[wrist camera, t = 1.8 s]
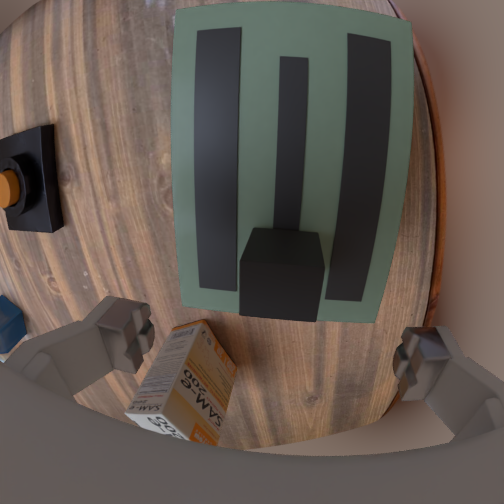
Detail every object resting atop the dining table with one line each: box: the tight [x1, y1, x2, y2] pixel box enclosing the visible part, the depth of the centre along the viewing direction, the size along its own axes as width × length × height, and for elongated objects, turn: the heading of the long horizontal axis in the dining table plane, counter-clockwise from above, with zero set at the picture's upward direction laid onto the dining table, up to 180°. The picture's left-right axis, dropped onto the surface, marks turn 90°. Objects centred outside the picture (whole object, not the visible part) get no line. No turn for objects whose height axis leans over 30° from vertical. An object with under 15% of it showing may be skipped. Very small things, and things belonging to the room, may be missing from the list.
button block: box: [0, 124, 64, 233], centre depth 25 cm, size 12×10×4 cm
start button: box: [0, 170, 20, 208], centre depth 22 cm, size 4×4×2 cm
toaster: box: [171, 1, 414, 323], centre depth 17 cm, size 16×11×11 cm
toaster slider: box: [239, 227, 325, 322], centre depth 12 cm, size 2×3×4 cm
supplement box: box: [125, 319, 237, 446], centre depth 26 cm, size 8×5×13 cm, turn 25°
